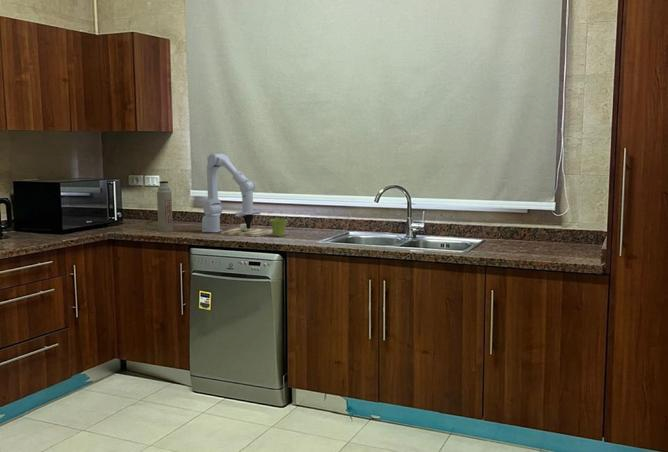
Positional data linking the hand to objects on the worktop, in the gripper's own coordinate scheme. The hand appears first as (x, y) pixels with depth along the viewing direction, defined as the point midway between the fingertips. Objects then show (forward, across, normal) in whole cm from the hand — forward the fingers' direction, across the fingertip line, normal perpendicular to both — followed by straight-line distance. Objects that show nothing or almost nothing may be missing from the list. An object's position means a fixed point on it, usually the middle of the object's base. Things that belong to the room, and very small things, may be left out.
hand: (248, 228), depth 365 cm
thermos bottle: (+3, -28, +45) cm, 53 cm away
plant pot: (+4, +11, -13) cm, 18 cm away
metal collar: (+2, +1, +5) cm, 6 cm away
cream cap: (+1, 0, +3) cm, 3 cm away
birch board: (+3, +2, +5) cm, 6 cm away
